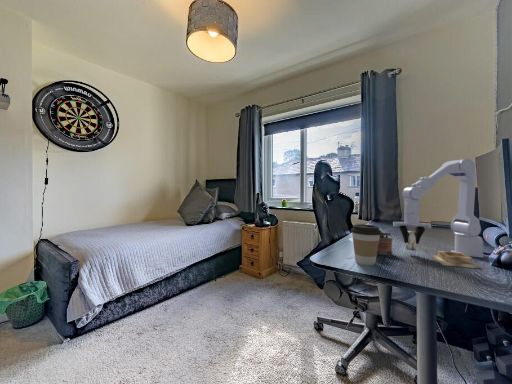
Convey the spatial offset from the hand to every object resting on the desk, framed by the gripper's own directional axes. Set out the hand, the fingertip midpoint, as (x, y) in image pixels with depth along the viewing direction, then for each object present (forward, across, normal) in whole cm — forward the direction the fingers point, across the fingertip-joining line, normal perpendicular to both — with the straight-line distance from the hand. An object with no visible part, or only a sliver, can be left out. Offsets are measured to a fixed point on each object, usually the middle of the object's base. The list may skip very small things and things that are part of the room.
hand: (411, 242), depth 109 cm
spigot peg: (+3, 0, 0) cm, 3 cm away
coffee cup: (+6, -21, -20) cm, 30 cm away
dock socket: (+6, +14, -6) cm, 16 cm away
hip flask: (+6, -12, -2) cm, 14 cm away
